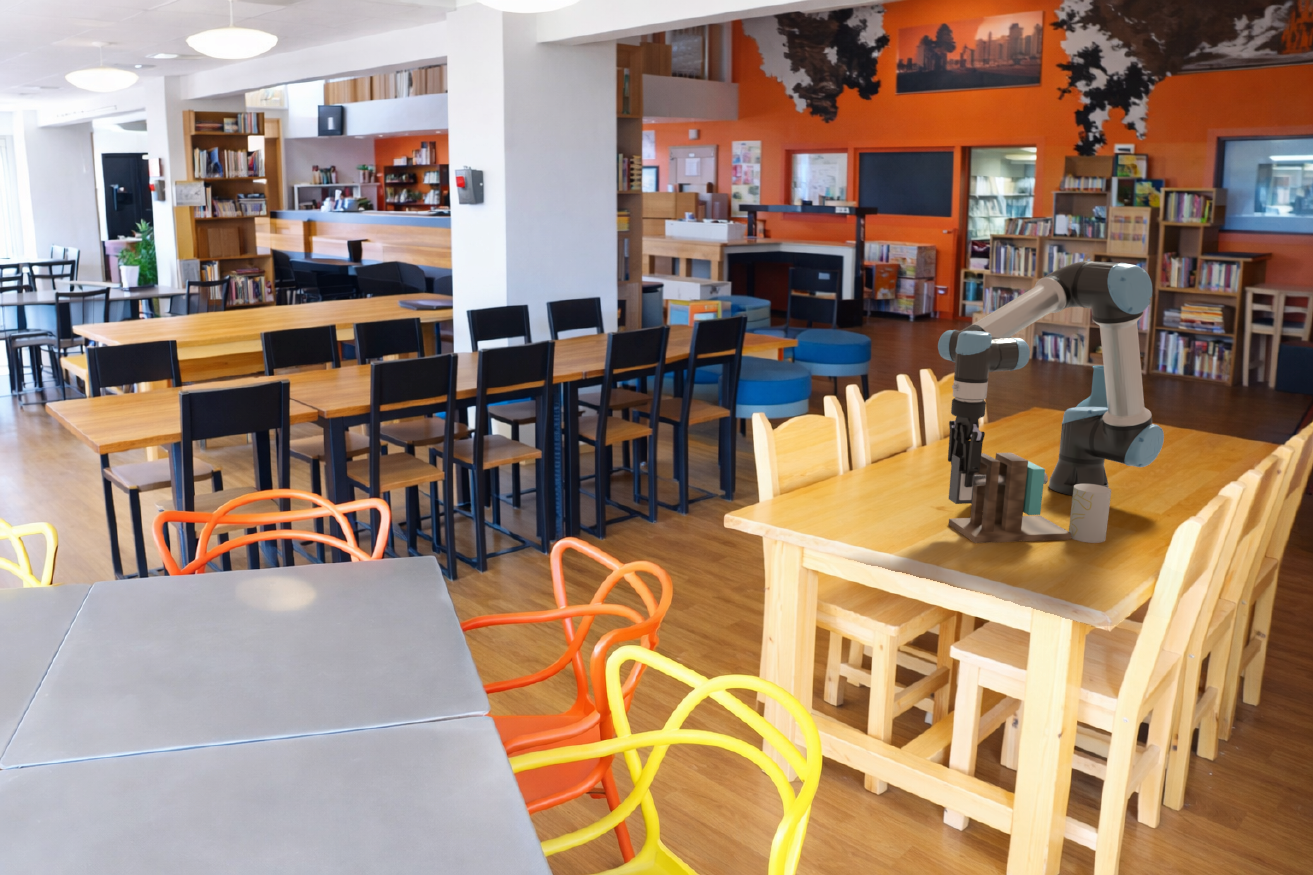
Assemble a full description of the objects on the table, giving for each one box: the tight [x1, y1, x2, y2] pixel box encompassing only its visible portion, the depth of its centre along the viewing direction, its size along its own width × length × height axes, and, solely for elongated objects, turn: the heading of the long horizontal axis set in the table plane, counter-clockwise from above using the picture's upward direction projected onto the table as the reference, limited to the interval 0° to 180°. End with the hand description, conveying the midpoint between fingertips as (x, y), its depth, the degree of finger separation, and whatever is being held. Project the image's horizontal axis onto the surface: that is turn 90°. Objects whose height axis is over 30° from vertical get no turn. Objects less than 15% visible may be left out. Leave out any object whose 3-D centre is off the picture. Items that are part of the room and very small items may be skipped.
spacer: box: [1023, 460, 1046, 516], centre depth 247 cm, size 3×11×11 cm, turn 10°
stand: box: [948, 452, 1072, 544], centre depth 247 cm, size 24×14×18 cm, turn 100°
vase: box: [1075, 365, 1108, 408], centre depth 344 cm, size 16×16×25 cm
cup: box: [1068, 484, 1112, 544], centre depth 245 cm, size 8×8×12 cm
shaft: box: [948, 454, 1049, 505], centre depth 245 cm, size 23×4×11 cm, turn 100°
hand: (960, 496), depth 245 cm, fingers closed on shaft, 4 cm apart
